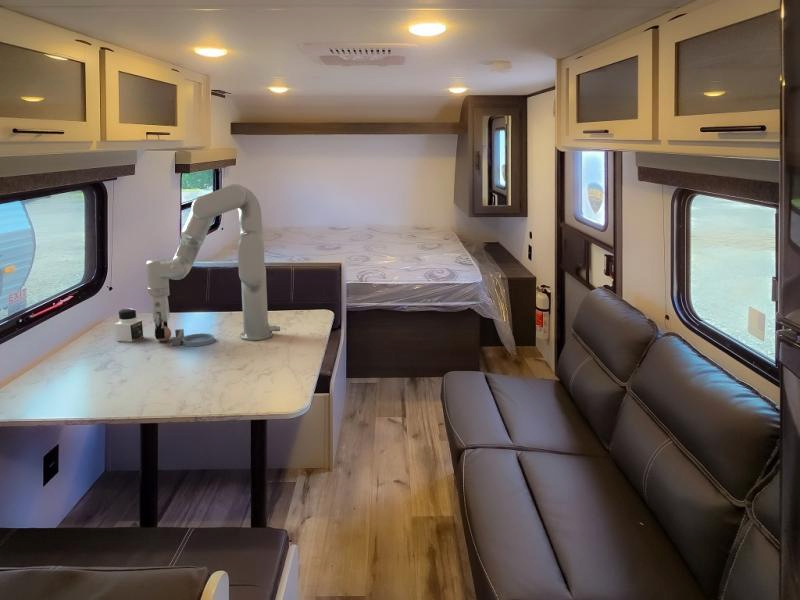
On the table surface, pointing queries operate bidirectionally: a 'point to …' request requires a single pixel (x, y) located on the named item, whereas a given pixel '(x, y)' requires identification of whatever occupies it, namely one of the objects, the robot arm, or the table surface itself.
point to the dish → (197, 339)
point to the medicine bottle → (128, 326)
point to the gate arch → (178, 337)
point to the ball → (167, 334)
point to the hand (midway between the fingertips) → (161, 335)
